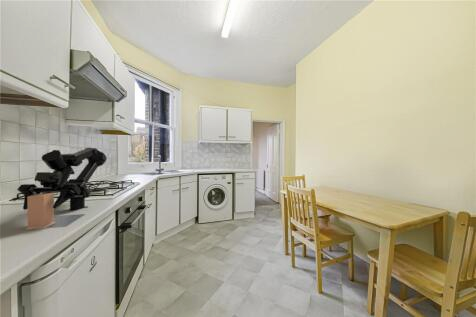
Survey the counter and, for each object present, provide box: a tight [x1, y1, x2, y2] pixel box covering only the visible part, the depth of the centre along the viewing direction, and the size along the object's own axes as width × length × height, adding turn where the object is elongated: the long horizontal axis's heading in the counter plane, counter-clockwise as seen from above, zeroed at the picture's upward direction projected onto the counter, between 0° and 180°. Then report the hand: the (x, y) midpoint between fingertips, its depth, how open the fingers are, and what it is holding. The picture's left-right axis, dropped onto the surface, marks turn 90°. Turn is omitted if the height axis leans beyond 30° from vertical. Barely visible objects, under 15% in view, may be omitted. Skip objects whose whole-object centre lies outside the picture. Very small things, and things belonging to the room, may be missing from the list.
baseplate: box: [24, 213, 86, 231], centre depth 75 cm, size 15×12×1 cm
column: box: [27, 192, 55, 229], centre depth 70 cm, size 5×5×12 cm
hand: (39, 208), depth 69 cm, fingers open, 9 cm apart
